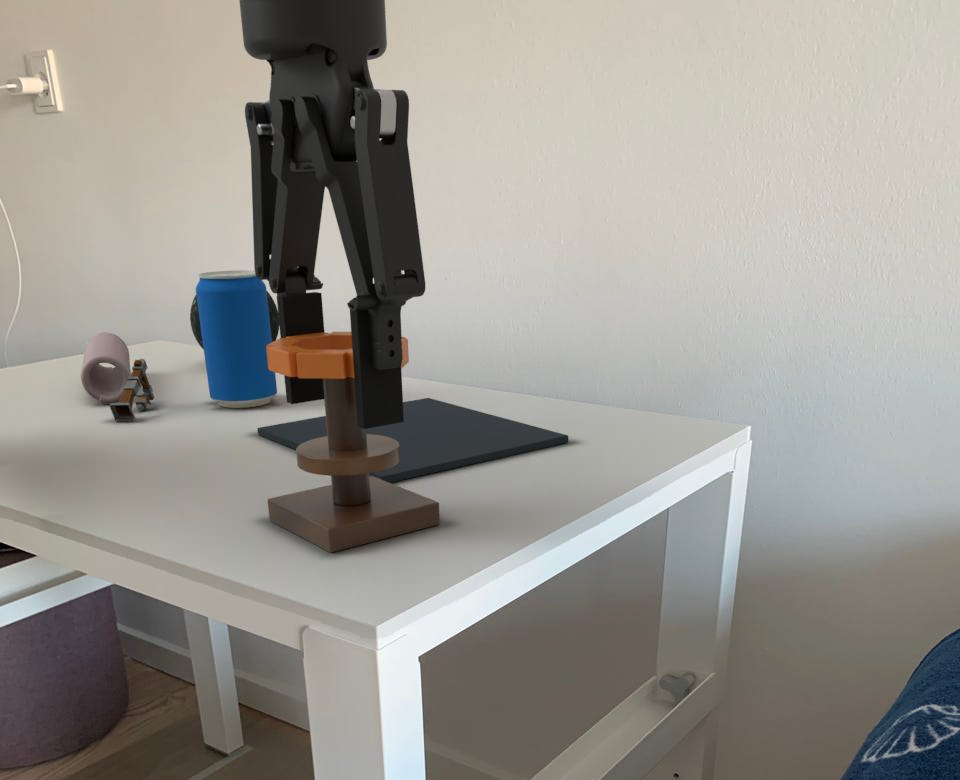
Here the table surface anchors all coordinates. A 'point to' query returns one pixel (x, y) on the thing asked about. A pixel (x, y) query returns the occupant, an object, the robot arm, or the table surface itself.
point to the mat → (434, 437)
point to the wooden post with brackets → (133, 393)
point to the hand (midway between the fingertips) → (342, 411)
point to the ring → (317, 355)
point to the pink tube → (100, 379)
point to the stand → (350, 483)
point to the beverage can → (236, 337)
